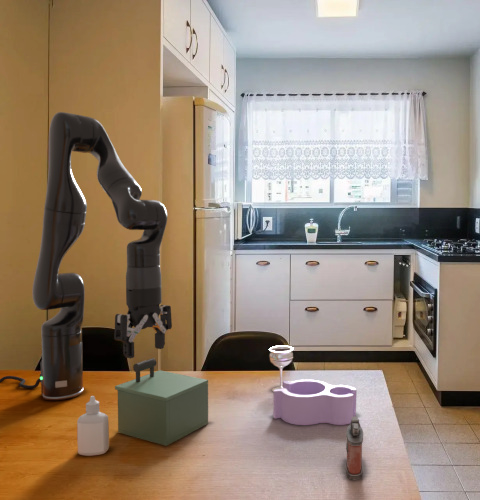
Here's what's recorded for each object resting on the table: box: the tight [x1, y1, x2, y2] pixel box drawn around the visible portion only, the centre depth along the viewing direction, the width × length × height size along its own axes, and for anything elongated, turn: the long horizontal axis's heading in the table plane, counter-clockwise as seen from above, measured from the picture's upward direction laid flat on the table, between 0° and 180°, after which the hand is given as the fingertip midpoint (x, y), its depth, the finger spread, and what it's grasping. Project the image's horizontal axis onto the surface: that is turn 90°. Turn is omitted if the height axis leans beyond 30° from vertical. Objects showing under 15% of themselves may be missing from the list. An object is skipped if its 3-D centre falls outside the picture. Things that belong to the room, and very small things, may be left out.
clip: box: [272, 379, 357, 426], centre depth 124 cm, size 20×12×7 cm, turn 81°
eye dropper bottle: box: [76, 395, 110, 457], centre depth 102 cm, size 4×6×12 cm
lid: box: [114, 357, 209, 401], centre depth 114 cm, size 16×13×5 cm
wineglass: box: [268, 345, 294, 392], centre depth 141 cm, size 7×7×12 cm
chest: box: [117, 382, 209, 447], centre depth 114 cm, size 15×13×10 cm
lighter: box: [345, 416, 364, 481], centre depth 98 cm, size 8×3×10 cm, turn 5°
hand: (144, 352), depth 116 cm, fingers open, 8 cm apart
